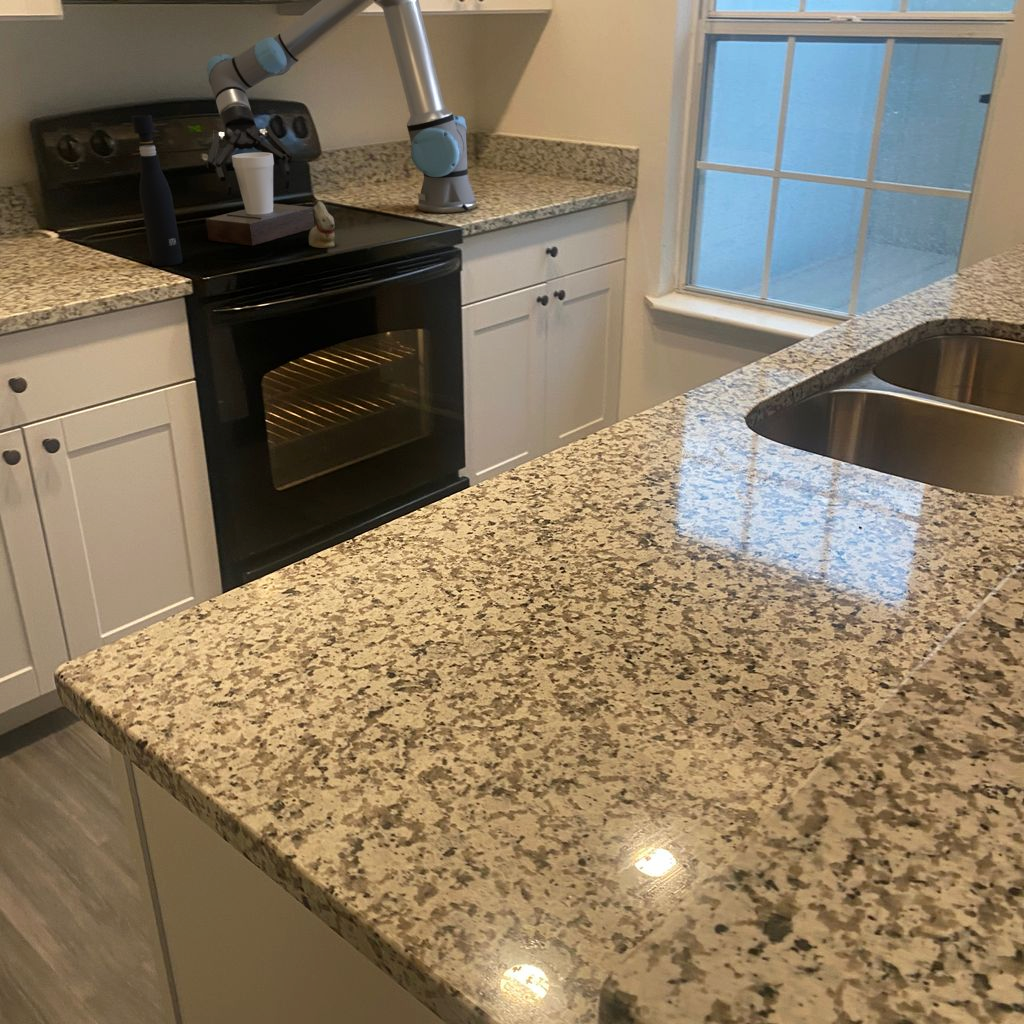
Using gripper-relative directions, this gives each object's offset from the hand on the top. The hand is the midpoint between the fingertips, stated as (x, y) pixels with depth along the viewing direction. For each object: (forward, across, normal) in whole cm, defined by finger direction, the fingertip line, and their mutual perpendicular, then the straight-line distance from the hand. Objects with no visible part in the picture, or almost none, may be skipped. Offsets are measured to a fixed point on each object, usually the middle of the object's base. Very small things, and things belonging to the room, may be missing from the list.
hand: (259, 188), depth 241 cm
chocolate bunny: (+21, -9, +5) cm, 23 cm away
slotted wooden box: (+6, 0, -10) cm, 11 cm away
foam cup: (+3, 0, -6) cm, 7 cm away
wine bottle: (+20, +26, +4) cm, 33 cm away
